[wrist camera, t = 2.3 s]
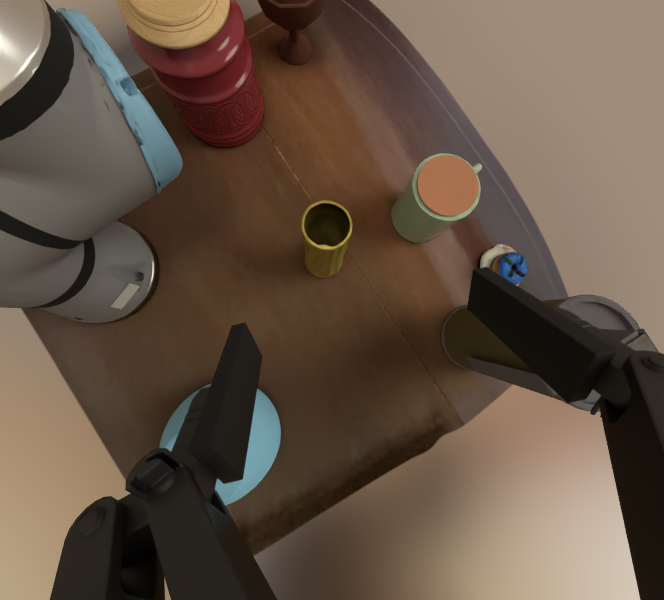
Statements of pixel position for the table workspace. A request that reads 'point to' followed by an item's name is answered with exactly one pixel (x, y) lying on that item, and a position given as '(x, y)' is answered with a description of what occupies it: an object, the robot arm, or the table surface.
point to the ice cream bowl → (293, 25)
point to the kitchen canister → (200, 64)
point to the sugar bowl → (259, 447)
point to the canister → (500, 362)
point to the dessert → (506, 263)
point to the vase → (325, 237)
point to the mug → (436, 197)
